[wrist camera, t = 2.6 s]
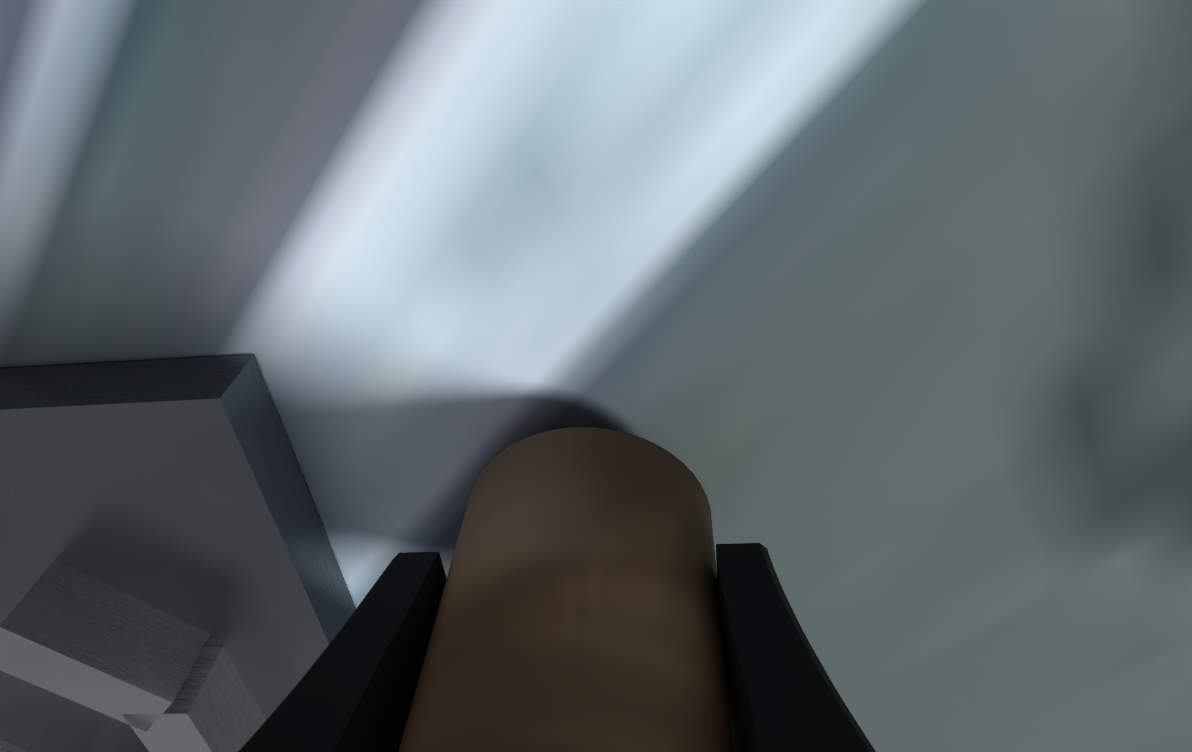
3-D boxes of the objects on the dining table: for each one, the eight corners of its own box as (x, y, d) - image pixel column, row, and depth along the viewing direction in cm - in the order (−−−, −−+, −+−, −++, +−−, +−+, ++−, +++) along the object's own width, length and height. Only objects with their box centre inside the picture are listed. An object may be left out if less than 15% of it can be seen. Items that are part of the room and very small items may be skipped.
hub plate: (437, 814, 20) (413, 930, 18) (7, 813, 21) (-65, 921, 19) (253, 354, 12) (170, 461, 10) (-407, 391, 13) (-607, 494, 11)
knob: (709, 421, 12) (746, 769, 7) (712, 603, 14) (744, 955, 9) (445, 432, 12) (328, 767, 8) (490, 607, 14) (418, 948, 10)
